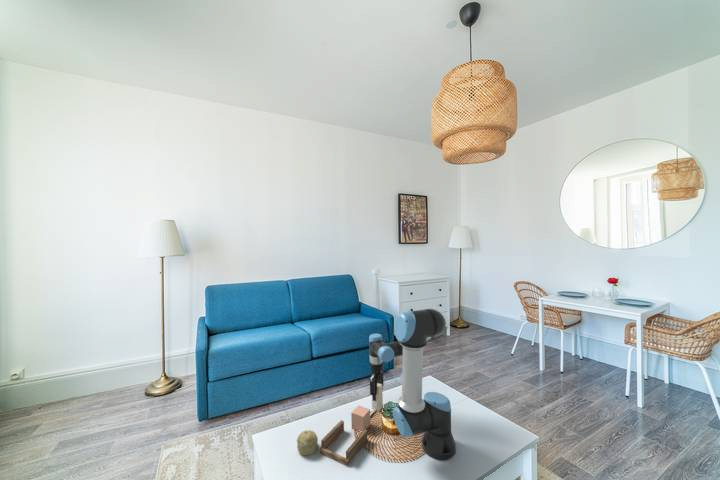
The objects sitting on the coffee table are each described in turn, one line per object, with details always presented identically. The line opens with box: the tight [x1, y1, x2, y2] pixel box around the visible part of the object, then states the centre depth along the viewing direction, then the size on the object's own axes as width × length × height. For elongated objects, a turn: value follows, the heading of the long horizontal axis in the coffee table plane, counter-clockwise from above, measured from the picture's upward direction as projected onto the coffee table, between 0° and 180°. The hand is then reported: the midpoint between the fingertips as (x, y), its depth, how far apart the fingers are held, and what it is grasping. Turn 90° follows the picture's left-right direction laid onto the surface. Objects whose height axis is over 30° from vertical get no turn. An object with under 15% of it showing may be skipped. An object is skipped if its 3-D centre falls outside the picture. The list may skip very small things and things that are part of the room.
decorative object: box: [296, 429, 319, 457], centre depth 128 cm, size 9×10×10 cm
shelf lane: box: [319, 419, 368, 467], centre depth 129 cm, size 15×17×5 cm
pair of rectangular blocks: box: [350, 383, 384, 432], centre depth 149 cm, size 7×24×13 cm, turn 149°
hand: (377, 403), depth 157 cm, fingers closed on pair of rectangular blocks, 4 cm apart
